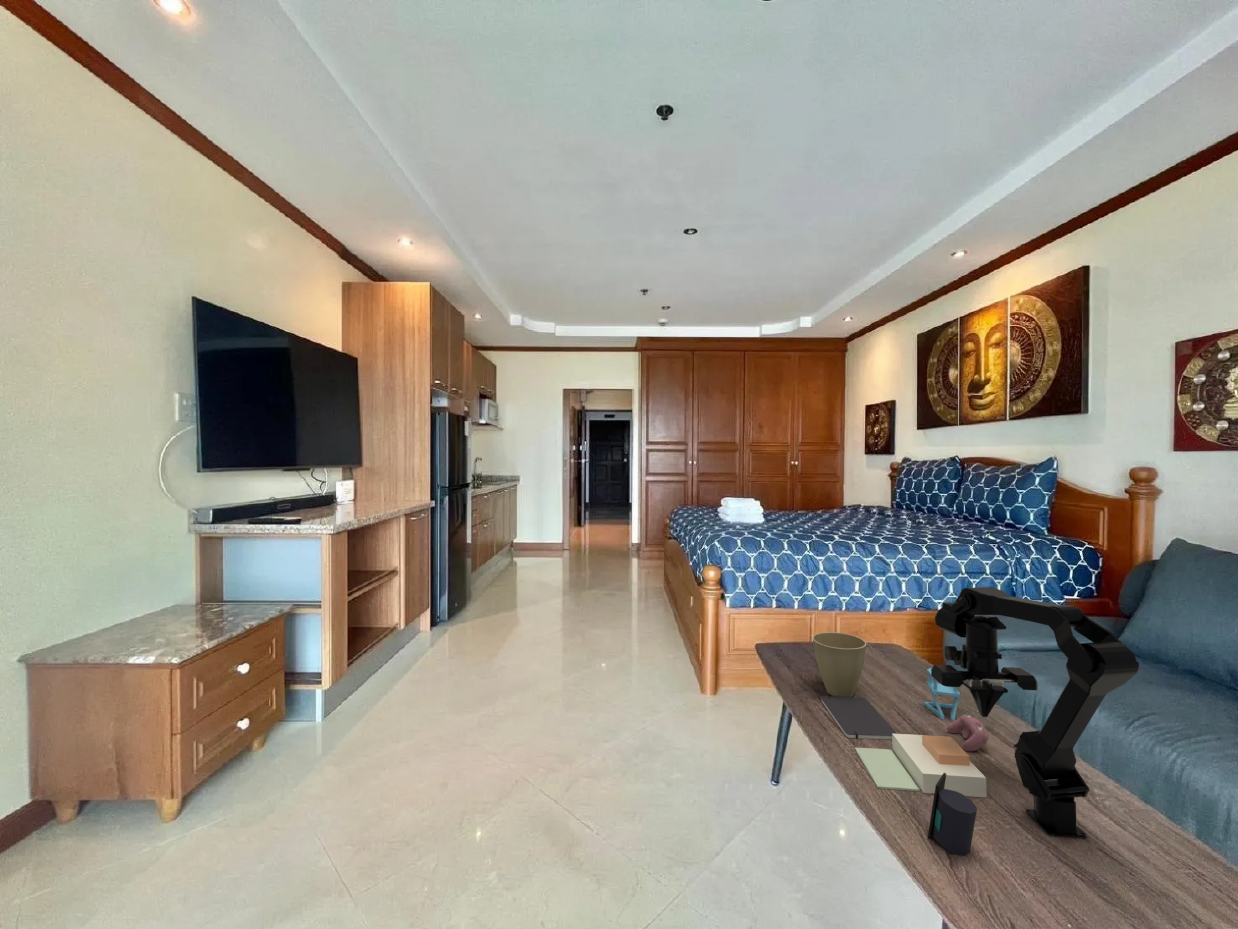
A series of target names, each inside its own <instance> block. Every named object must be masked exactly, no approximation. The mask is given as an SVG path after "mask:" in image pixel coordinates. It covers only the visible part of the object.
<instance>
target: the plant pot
mask: <svg viewBox="0 0 1238 929" xmlns="http://www.w3.org/2000/svg"><path fill="white" fill-rule="evenodd" d="M812 644H813V648H814V649H813V650H814V654H815V659H816V663H817V666H818V670H819V673H820V677H821V680H822V682H823V684H824V687H825V689H826V692H827V693H828V695H831V697H854V695H855V692H856V691H857V689H858V688H857V687H858V685H859V683H860V682H859V681H860V678H861V676H862V671H863V667H864V663H865V662H864V661H865V657H866V653H867V652H866V650H867V642H866V640H865V639H863V638H861V637H860V636H859V637H858V636H856V635H853V634H849V633H845V632H844V633H843V632H835V631H832V632H829V631H828V632H827V631H826V632H820V633H819V632H818V633H816V634H814V635H813V636H812Z"/></svg>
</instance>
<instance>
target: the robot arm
mask: <svg viewBox="0 0 1238 929" xmlns="http://www.w3.org/2000/svg"><path fill="white" fill-rule="evenodd" d="M991 615H993V616H991ZM994 615H995V616H994ZM998 615H999V616H1004V617H1008V618H1012V619H1016V620H1023V621H1026V622H1031V623H1035V624H1041V625H1043V626H1048V627H1049V628H1050V629H1051V631H1052V632H1053V633H1054V638H1055V641H1056V644H1057V647H1058V649H1059V650H1060V651H1061V652H1062V653H1063V655H1065V657H1066V658H1067V660H1066V663H1065V664H1066V665H1065V667H1066V671H1067V673H1068V676H1069V679H1068V681H1067V682H1066V685H1065V686H1064V688H1063V690H1062V691H1061V694H1060V695H1059V697H1058V699H1057V701H1056V702H1055V704H1054V706H1053V708H1052V709H1051V712H1050V713H1049V715H1048V717H1047V718H1046V720H1045V722H1044V724H1043V725H1042V727H1041V729H1040V730H1032V731H1031V730H1030V731H1023V732H1022V733H1020V735H1019V738H1018V740H1017V743H1015V744H1013V747H1014V748H1015V750H1014V759H1015V763H1016V766H1017V770H1018V774H1019V776H1020V780H1021V784H1022V786H1023V787H1024V788H1025V789H1027V790H1028V791H1029V794H1031V795H1032V796H1033V809H1031V808H1026V809H1025V813H1026V814H1027V815H1028V816H1029V817H1030V818H1031V819H1032V820H1033V821H1034V823H1036V824H1037V825H1038V827H1039V828H1040V829H1041V830H1042V831H1043V832H1044V833H1045V834H1047V835H1049V836H1057V837H1067V838H1068V837H1070V838H1082V839H1083V838H1084V839H1086V838H1087V833H1085V831H1083V830H1082V829H1081V828H1080V827H1079V826H1078V825H1077V824H1078V823H1077V802H1076V800H1075V798H1086V797H1087V796H1088V794H1089V792H1090V787H1089V786H1088V784H1087V783H1086V781H1085V779H1083V777H1082V775H1081V774H1080V773H1079V771H1078V770H1077V768H1076V765H1077V757H1076V754H1075V751H1074V747H1075V746H1076V744H1077V742H1078V741H1079V739H1080V737H1081V736H1082V735H1083V733H1084V731H1085V730H1086V728H1087V726H1088V725H1089V723H1090V722H1091V720H1092V718H1093V716H1094V715H1095V713H1096V712H1097V710H1098V709H1099V707H1100V705H1101V703H1102V702H1103V700H1104V698H1105V697H1106V696H1107V694H1109V693H1111V692H1112V691H1115V690H1117V689H1118V688H1119V687H1122V686H1124V685H1126V683H1128V682H1129V681H1130V680H1131V679H1132V678H1133V677H1134V676H1136V674H1137V673H1138V672H1139V669H1140V663H1139V661H1138V660H1137V658H1136V655H1134V653H1133V651H1132V650H1130V648H1128V647H1127V646H1126V645H1125V644H1123V642H1122V641H1121V640H1120V639H1119V638H1118V637H1117V636H1116V635H1115V634H1114V633H1112V631H1110V630H1108V629H1106V628H1105V627H1103V626H1102V625H1101V624H1098V623H1097V622H1095V620H1092V619H1090V618H1089V617H1088V616H1087V615H1086V614H1085V613H1084V611H1083V610H1082V609H1080V608H1079V607H1077V606H1074V605H1071V604H1067V605H1066V604H1064V605H1062V604H1056V603H1053V602H1047V601H1042V600H1035V599H1029V598H1022V597H1017V596H1013V595H1009V594H1008V593H1007V592H1005V591H1003V590H1002V589H998V588H995V587H992V586H981V587H980V586H979V587H978V586H977V587H963V588H961V590H960V593H959V595H958V597H957V598H956V600H955V601H954V602H950V601H947V602H942V607H941V608H939V609H938V611H937V612H936V614H935V617H934V621H935V624H936V626H937V627H938V628H939V629H941V630H943V631H945V632H948V633H950V634H952V635H955V636H957V637H959V638H964V639H965V644H962V647H961V649H962V650H958V649H957V646H954V645H953V646H952V645H944V652H943V654H944V657H945V659H946V661H953V663H954V665H955V666H960V668H962V669H963V670H958V669H956V668H955V667H954V666H952V665H951V664H933V666H932V667H931V668H932V669H931V676H932V677H933V678H934V679H935V680H936V682H937V683H940V684H941V685H943V686H946V687H957V688H960V687H961V686H962V685H963V686H965V687H966V688H967V689H968V691H969V692H970V694H971V696H972V698H973V700H974V703H975V705H976V707H977V709H978V710H977V711H978V713H979V715H980V716H981V717H982V718H988V716H989V715H990V713H991V711H992V710H993V709H994V707H995V705H996V704H997V702H998V701H999V700H1000V699H1001V698H1002V696H1003V695H1004V694H1008V693H1009V689H1008V688H1006V687H1005V683H1016V684H1017V686H1018V687H1019V688H1020V689H1021V690H1023V691H1037V690H1038V686H1039V684H1038V680H1037V678H1036V677H1035V676H1034V675H1033V674H1031V673H1030V672H1028V671H1026V670H1024V669H1023V668H1021V667H1009V666H1007V667H1006V666H1004V667H1002V668H1001V669H1000V671H999V660H1003V657H1002V656H1003V654H1002V653H1000V652H999V644H998V643H999V642H998V635H999V634H998V631H1001V630H1002V631H1003V630H1007V626H1006V625H1005V624H1004V623H1003V622H1002V621H1000V619H999V617H998ZM986 616H990V617H986ZM1072 629H1073V630H1074V631H1075V632H1077V633H1078V634H1080V635H1082V637H1084V638H1086V639H1087V640H1089V641H1091V642H1079V641H1078V640H1077V638H1076V637H1075V636H1074V634H1073V631H1072ZM964 669H965V670H964Z"/></svg>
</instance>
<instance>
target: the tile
mask: <svg viewBox="0 0 1238 929" xmlns="http://www.w3.org/2000/svg"><path fill="white" fill-rule="evenodd" d="M921 735H922V744H923V745H924V746H925V748H926V749H927V750H928V751H929V752H930V754H931V755H932V756H933V757H934V758H935V759H936V761H937V762H938V763H939V764H947V765H962V766H970V762H971V760H970V759H971V758H970V755H969V754H968V753H967V751H965V750H964V749H963V747H961V746H960V745H959V744H958V743H957V742H956V741H955V740H954V739H953V737H951V736H944V735H925V734H921Z"/></svg>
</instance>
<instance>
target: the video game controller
mask: <svg viewBox="0 0 1238 929" xmlns="http://www.w3.org/2000/svg"><path fill="white" fill-rule="evenodd" d="M946 730H947V732H948V733H949V734H958V733H961V732H962V737H963V738H964V739H966V740H965V741H964V742H963V743H962V749H963V750H964V751H965V752H974V751H976V750H979V749H980V748H981V747H982V746H984V745H986V744H987V743H988V740H989V736H990V735H989V733H988V732H989V731H987V730H986V728H985V726H984V724H983V723H982V722H981V721H980V720H979V719H977V718H975V717H973V716H971V715H967V714H963V715H961V716H959V717H958V718H957V719H955V721H951V722H950V723H949V724H948V725H947V727H946Z"/></svg>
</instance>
